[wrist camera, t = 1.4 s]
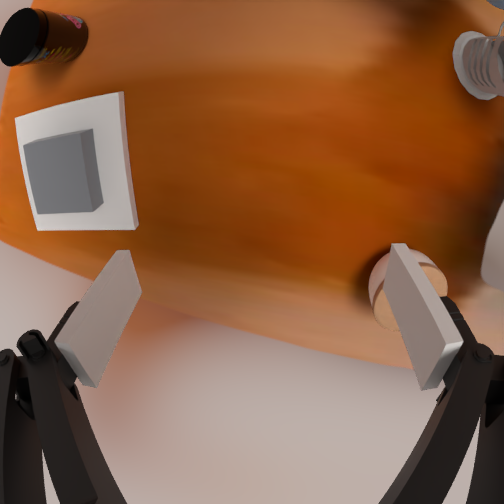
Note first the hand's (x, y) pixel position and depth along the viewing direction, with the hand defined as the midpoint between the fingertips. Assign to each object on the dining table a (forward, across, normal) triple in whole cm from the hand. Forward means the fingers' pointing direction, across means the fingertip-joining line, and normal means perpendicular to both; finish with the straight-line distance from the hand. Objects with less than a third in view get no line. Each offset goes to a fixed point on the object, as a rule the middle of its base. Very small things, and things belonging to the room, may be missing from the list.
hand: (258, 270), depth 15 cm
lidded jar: (+23, +18, -16) cm, 34 cm away
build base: (+23, -26, +1) cm, 35 cm away
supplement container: (+24, -24, +19) cm, 39 cm away
